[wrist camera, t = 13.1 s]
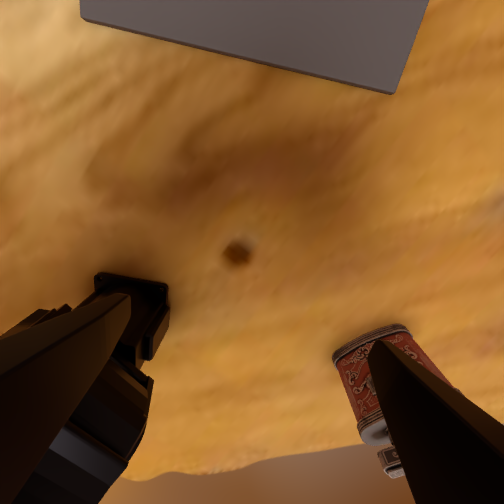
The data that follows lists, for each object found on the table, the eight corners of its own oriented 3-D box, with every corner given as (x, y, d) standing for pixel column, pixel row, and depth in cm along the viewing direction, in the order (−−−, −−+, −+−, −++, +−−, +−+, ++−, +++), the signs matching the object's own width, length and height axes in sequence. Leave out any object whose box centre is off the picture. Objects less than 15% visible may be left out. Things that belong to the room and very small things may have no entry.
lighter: (400, 317, 23) (498, 429, 14) (413, 339, 24) (512, 457, 15) (326, 352, 25) (367, 471, 15) (340, 371, 26) (387, 494, 16)
